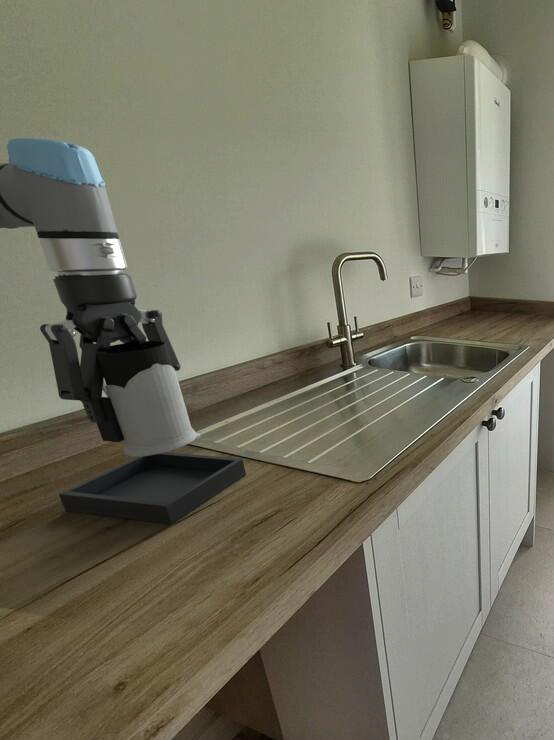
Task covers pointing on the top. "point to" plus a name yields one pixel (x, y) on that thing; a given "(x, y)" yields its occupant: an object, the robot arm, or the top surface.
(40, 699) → the top surface
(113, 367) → the black and white mug
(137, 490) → the tray
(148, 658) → the top surface
